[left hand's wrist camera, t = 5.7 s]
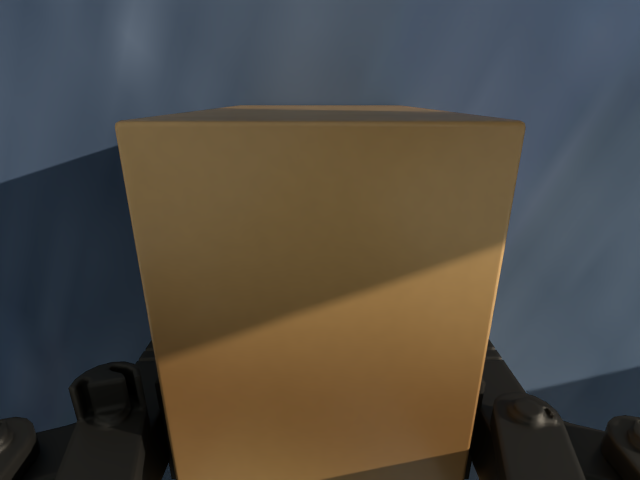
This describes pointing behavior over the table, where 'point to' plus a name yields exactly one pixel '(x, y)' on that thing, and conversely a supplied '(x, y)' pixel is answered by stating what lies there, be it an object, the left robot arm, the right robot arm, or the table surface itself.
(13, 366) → the table surface
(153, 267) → the plank
